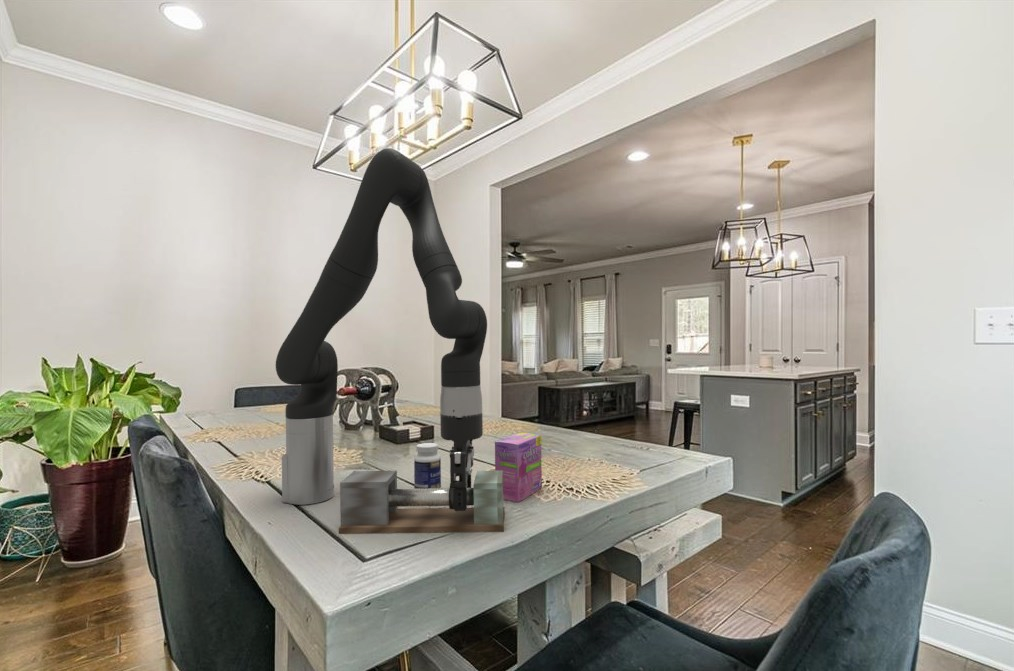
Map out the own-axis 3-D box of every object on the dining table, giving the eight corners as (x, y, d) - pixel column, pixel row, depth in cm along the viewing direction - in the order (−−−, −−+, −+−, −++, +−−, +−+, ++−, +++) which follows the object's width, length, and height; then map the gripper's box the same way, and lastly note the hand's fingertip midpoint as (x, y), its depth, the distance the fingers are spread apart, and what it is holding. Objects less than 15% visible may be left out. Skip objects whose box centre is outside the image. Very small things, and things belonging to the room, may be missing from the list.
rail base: (338, 533, 80) (338, 484, 80) (356, 514, 89) (355, 469, 89) (503, 531, 79) (502, 481, 80) (504, 512, 88) (503, 467, 89)
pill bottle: (435, 495, 99) (434, 448, 99) (410, 494, 100) (409, 447, 101) (444, 487, 105) (443, 442, 105) (420, 485, 106) (419, 441, 106)
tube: (387, 513, 82) (386, 489, 82) (393, 505, 86) (392, 482, 86) (490, 512, 82) (489, 488, 82) (491, 504, 86) (490, 480, 86)
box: (518, 503, 94) (517, 443, 94) (494, 498, 97) (493, 440, 97) (543, 488, 102) (542, 434, 103) (520, 485, 105) (519, 432, 106)
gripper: (446, 405, 92) (447, 489, 91) (433, 417, 77) (435, 516, 77) (484, 405, 91) (486, 489, 91) (479, 416, 77) (481, 516, 77)
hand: (462, 501), depth 84 cm, fingers open, 8 cm apart
